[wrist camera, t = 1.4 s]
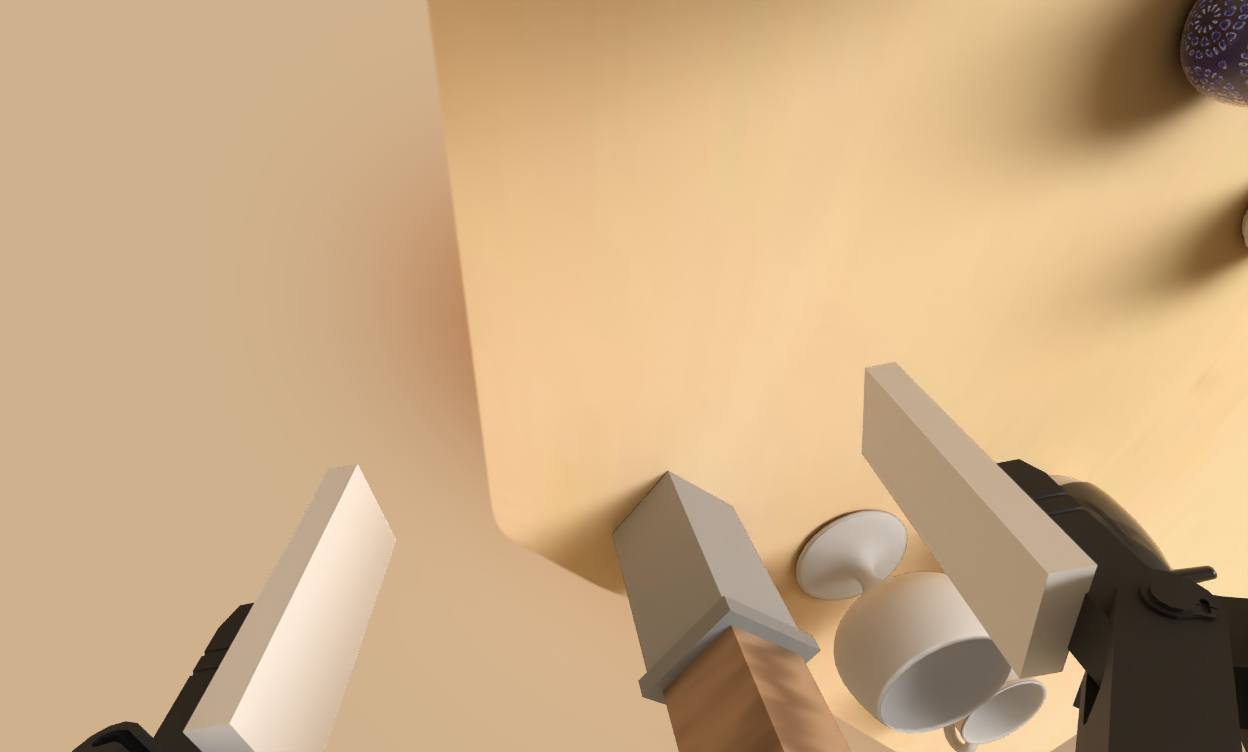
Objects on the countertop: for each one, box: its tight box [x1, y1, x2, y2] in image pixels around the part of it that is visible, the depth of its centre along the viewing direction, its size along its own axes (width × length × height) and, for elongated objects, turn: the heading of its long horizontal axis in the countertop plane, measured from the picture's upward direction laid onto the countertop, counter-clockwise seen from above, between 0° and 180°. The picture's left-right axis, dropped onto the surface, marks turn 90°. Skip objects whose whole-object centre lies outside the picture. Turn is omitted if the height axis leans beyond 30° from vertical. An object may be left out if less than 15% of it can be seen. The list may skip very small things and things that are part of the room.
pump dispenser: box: [1050, 475, 1217, 583], centre depth 56 cm, size 10×10×15 cm
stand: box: [612, 471, 820, 704], centre depth 47 cm, size 9×9×16 cm
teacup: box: [944, 668, 1046, 752], centre depth 71 cm, size 14×11×8 cm
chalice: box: [796, 510, 1011, 733], centre depth 54 cm, size 14×14×15 cm
